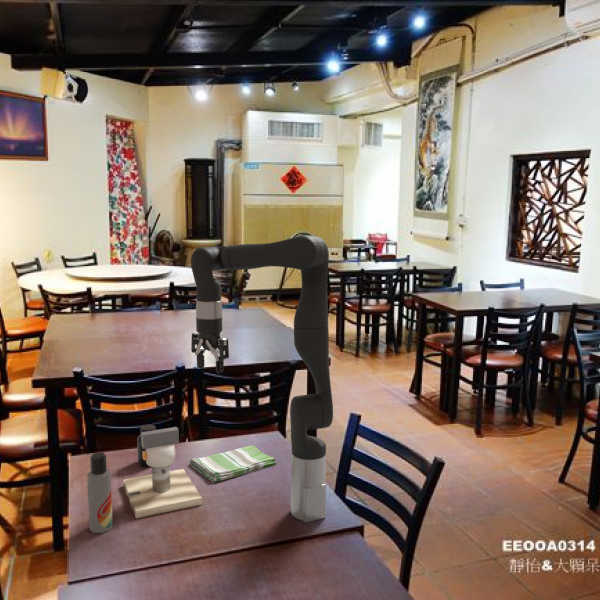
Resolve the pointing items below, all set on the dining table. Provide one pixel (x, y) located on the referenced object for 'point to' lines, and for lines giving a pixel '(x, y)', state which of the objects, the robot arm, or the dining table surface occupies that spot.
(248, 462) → the dish towel
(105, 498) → the lotion bottle
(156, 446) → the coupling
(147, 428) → the supplement bottle
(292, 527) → the dining table surface
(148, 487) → the post board
